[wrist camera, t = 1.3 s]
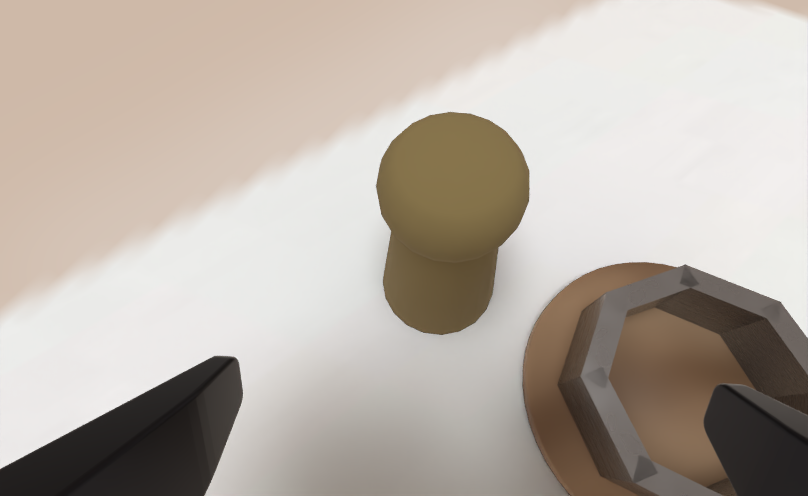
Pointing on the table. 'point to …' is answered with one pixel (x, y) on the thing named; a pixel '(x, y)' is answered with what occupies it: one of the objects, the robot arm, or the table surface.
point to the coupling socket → (651, 376)
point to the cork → (448, 217)
